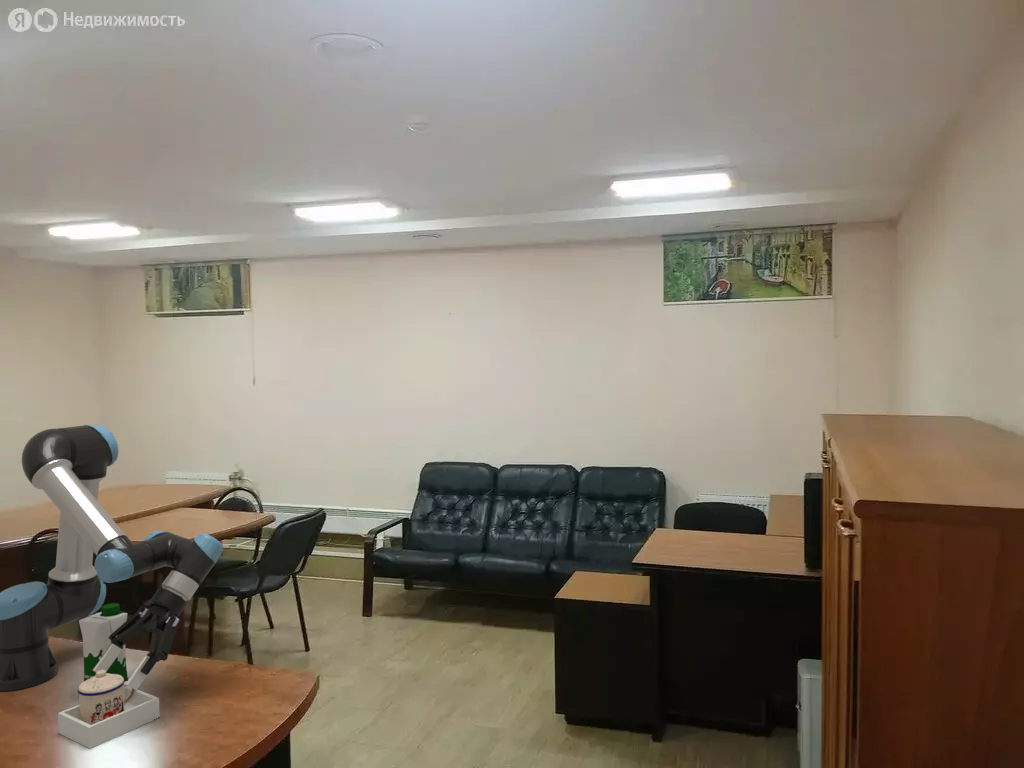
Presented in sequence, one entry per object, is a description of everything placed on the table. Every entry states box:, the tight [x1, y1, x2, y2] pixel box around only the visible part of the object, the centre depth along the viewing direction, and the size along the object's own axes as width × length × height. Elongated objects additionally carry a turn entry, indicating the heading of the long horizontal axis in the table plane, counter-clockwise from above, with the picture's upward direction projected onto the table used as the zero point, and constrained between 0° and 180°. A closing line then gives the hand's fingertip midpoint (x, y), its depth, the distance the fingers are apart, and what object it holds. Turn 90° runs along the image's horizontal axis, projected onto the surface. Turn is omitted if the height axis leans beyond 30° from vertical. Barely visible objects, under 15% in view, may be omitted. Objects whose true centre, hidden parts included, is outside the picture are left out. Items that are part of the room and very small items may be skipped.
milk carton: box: [78, 602, 129, 682], centre depth 183 cm, size 9×9×20 cm
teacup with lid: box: [77, 670, 136, 725], centre depth 164 cm, size 12×9×12 cm
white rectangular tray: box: [57, 685, 161, 750], centre depth 164 cm, size 13×16×4 cm
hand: (114, 680), depth 165 cm, fingers open, 13 cm apart
